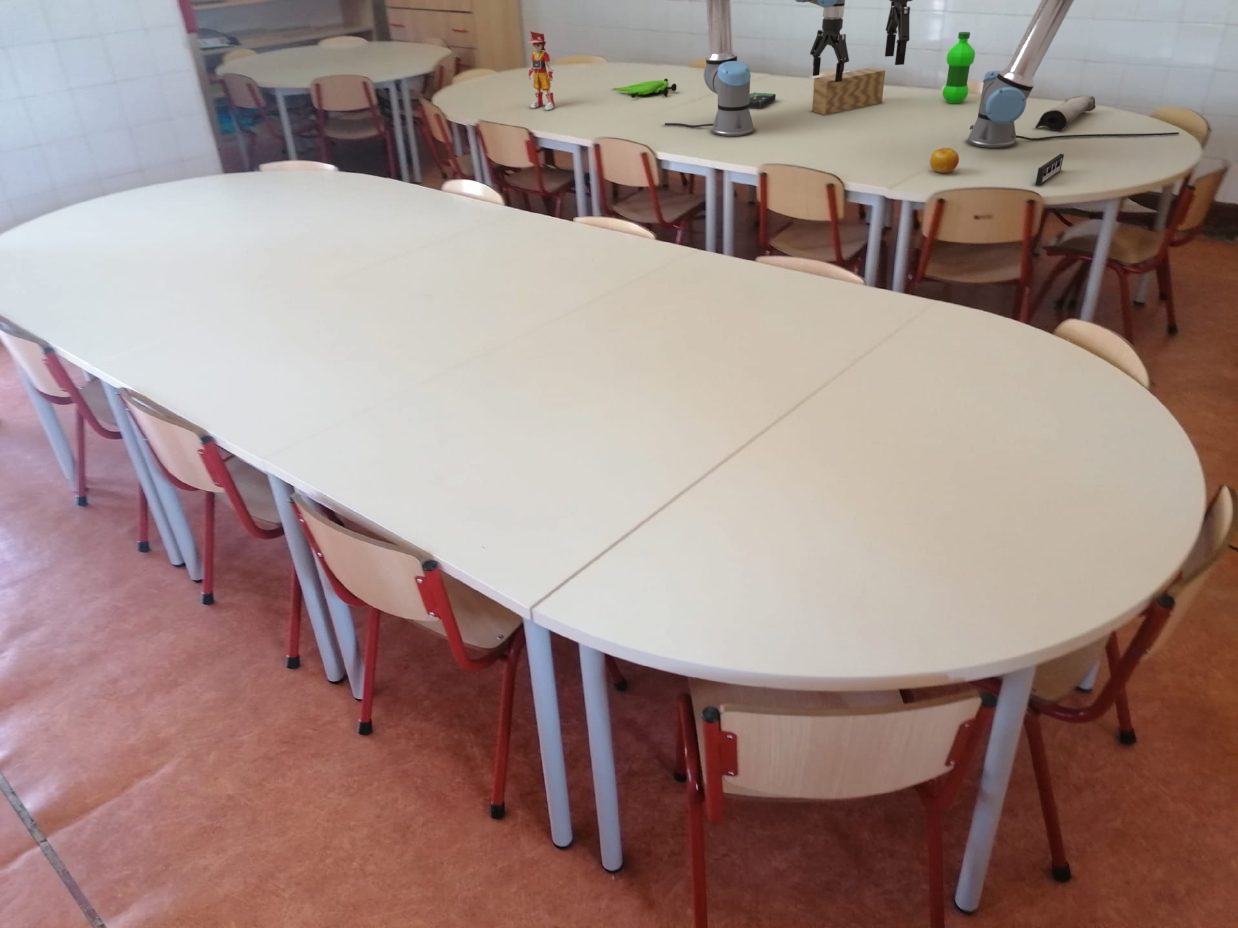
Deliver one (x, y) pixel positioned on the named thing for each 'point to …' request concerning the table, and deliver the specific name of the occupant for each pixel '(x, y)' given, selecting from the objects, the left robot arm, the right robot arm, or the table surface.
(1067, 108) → the rolled mat
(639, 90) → the toy
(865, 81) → the box
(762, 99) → the disk drive
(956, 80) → the plastic bottle
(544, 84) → the toy
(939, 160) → the fruit
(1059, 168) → the midi keyboard
